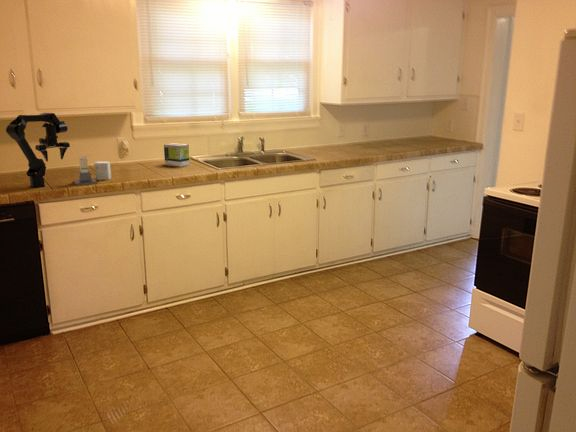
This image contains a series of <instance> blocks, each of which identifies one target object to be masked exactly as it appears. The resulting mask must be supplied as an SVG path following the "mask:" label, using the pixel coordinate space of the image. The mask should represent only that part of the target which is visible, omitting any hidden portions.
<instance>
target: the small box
mask: <svg viewBox="0 0 576 432" xmlns="http://www.w3.org/2000/svg"><path fill="white" fill-rule="evenodd" d="M94 171H95V172H94V173H95V179H96V181H97V180H98V181H102V180H103V181H108V180H111V178H112V172H111V162H110V161H95V162H94Z"/></svg>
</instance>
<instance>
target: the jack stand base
mask: <svg viewBox="0 0 576 432" xmlns="http://www.w3.org/2000/svg"><path fill="white" fill-rule="evenodd" d="M73 182H74V185H75V186H84V185H96V184H98V181H97V180H96V177H92V172H91V171H90V170H88V173H81V171H78V178H74V179H73Z"/></svg>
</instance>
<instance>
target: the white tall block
mask: <svg viewBox="0 0 576 432" xmlns="http://www.w3.org/2000/svg"><path fill="white" fill-rule="evenodd" d="M78 160H79V172H81V173H88V171H89V167H88V158H87V156H78Z"/></svg>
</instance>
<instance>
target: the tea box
mask: <svg viewBox="0 0 576 432" xmlns="http://www.w3.org/2000/svg"><path fill="white" fill-rule="evenodd" d="M163 152H164V153H163V155H164V165H165V166H173V167H178V168H179V167H187V166H190V147H189V144H186V143H176V142H173V143H166V144H163Z"/></svg>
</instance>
